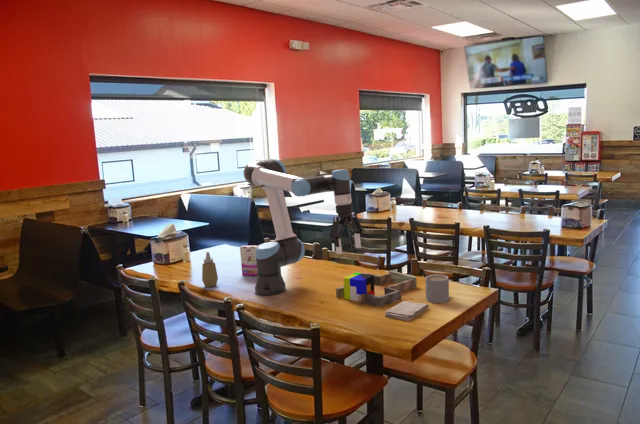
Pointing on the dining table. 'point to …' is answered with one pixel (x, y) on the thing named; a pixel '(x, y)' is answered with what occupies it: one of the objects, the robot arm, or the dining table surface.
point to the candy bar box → (248, 260)
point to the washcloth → (406, 310)
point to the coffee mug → (437, 288)
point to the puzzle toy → (358, 285)
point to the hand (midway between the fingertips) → (349, 250)
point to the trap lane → (386, 289)
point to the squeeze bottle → (209, 272)
